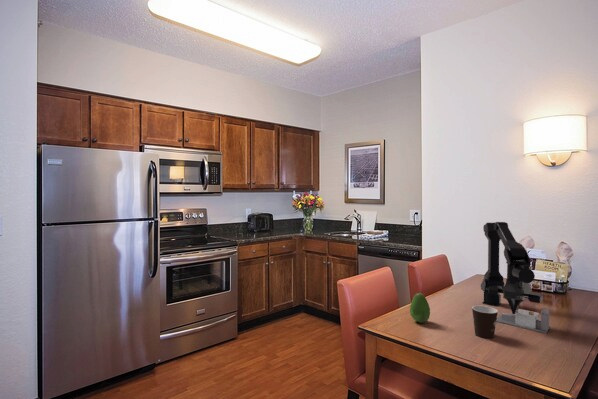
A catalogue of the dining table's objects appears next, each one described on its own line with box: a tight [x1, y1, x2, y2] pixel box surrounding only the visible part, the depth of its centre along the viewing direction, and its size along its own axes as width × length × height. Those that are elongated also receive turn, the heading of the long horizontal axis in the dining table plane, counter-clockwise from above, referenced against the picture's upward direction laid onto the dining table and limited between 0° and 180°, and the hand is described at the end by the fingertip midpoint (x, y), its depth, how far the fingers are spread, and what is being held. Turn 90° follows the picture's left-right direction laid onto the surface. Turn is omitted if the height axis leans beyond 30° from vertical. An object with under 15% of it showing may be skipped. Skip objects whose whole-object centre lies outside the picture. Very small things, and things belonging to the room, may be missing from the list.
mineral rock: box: [523, 282, 533, 294], centre depth 189 cm, size 13×11×10 cm
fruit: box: [409, 292, 431, 324], centre depth 145 cm, size 8×8×12 cm
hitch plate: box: [496, 307, 551, 334], centre depth 143 cm, size 18×8×9 cm, turn 46°
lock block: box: [514, 308, 540, 329], centre depth 142 cm, size 7×6×6 cm
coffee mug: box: [471, 305, 499, 340], centre depth 133 cm, size 12×9×10 cm
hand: (513, 313), depth 145 cm, fingers closed
